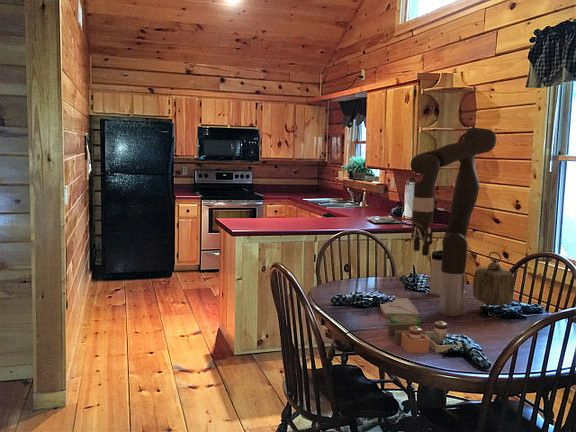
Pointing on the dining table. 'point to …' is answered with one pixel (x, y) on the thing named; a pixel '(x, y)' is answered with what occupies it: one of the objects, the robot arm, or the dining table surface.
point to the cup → (415, 344)
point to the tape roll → (405, 319)
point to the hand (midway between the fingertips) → (420, 253)
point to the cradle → (399, 331)
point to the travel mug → (435, 273)
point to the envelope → (399, 308)
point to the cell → (439, 332)
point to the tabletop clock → (493, 284)
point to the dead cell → (415, 332)
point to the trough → (439, 347)
